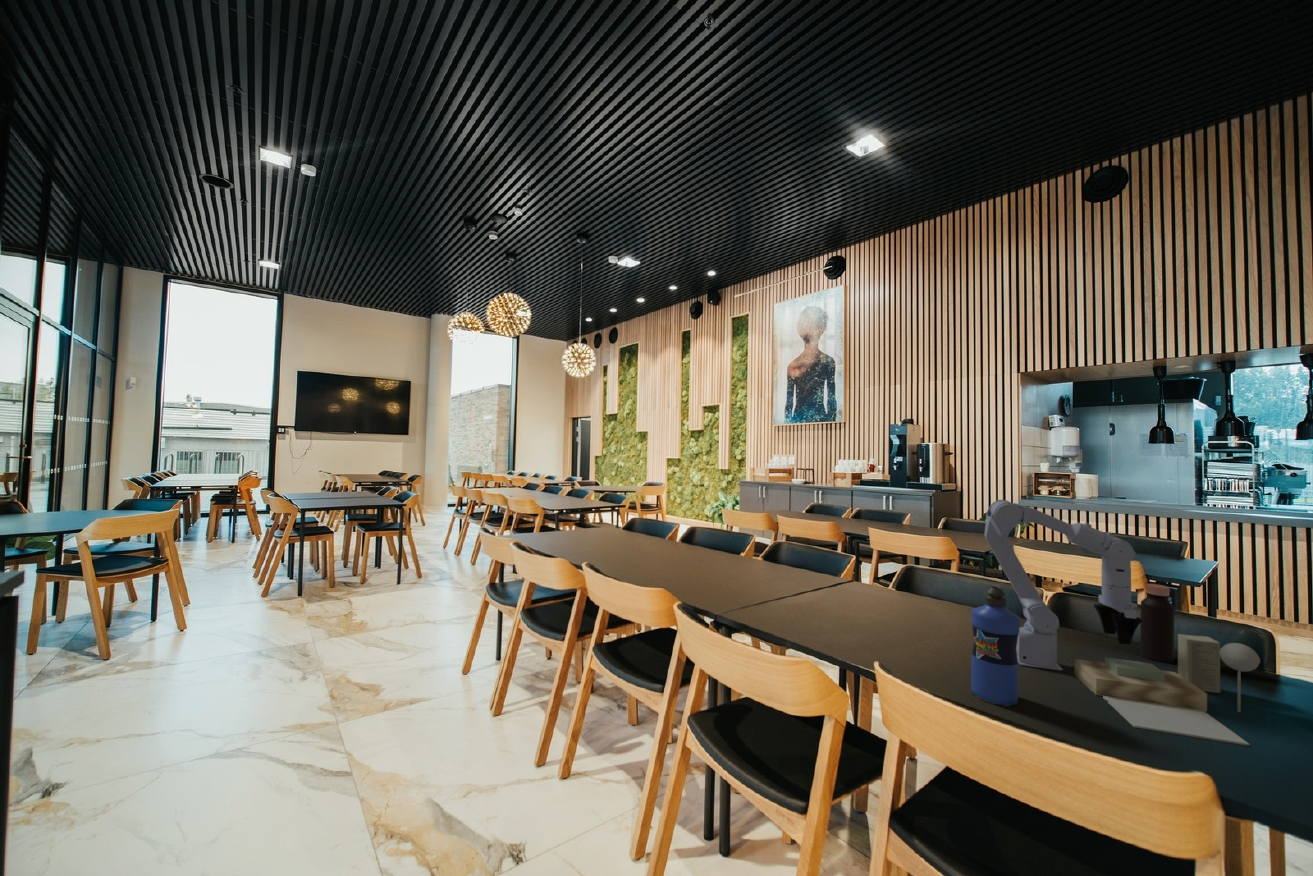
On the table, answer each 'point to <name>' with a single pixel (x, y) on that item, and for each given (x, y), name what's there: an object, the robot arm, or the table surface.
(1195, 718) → the mat
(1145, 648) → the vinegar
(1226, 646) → the lollipop
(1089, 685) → the riser
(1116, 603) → the robot arm
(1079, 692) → the table surface
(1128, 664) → the tile
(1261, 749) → the table surface
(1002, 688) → the water bottle
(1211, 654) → the skincare box
